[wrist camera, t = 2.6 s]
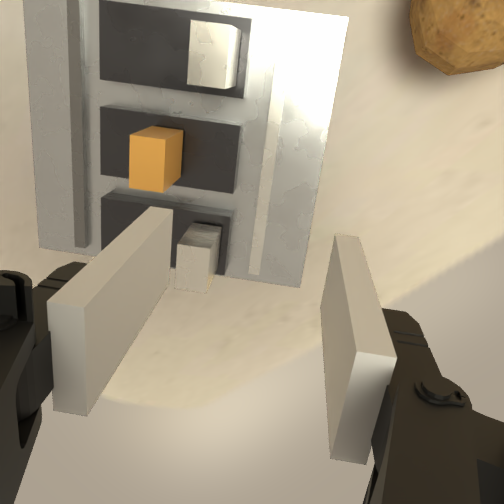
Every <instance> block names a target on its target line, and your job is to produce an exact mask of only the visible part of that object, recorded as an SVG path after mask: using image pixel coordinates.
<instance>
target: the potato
mask: <svg viewBox="0 0 504 504" xmlns="http://www.w3.org/2000/svg"><path fill="white" fill-rule="evenodd" d="M409 19H410V25H411V30H412V36H413V41H414V47H415V52H416V54H417V55H418V56H420V57H421V58H423V59H424V60H426V61H427V62H429V63H430V64H432V65H433V66H435V67H436V68H438V69H439V70H440V71H442V72H443V73H445V74H446V75H454V74H461V73H468V72H475V71H481V70H488V69H494V68H496V67H498V66H500V65H502V64H504V0H411V6H410V13H409Z"/></svg>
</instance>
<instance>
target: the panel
mask: <svg viewBox="0 0 504 504" xmlns="http://www.w3.org/2000/svg"><path fill="white" fill-rule="evenodd" d="M23 7H24V22H25V37H26V53H27V68H28V83H29V98H30V114H31V129H32V144H33V159H34V175H35V190H36V205H37V220H38V236H39V248H45V249H51V250H58V251H64V252H71V253H77V254H84V255H90V256H97V255H98V254H99V253H100V252H101V251H102V250H103V249H104V248H105V247H107V246H108V245H109V244H110V243H111V242H112V241H113V240H114V239H115V238H116V237H117V236H119V235H120V234H121V233H122V232H123V231H124V230H125V229H126V228H127V227H128V226H129V225H131V224H132V223H133V222H134V221H135V220H136V219H137V218H138V217H139V216H140V215H141V214H143V213H144V212H145V211H146V210H147V209H148V208H149V207H150V206H152V207H159V208H166V209H173V222H172V240H171V258H170V268H174V269H176V274H175V289H180V290H187V291H193V292H199V293H207V291H208V289H209V286H210V284H211V282H212V279H213V277H214V275H219V276H226V277H232V278H238V279H245V280H251V281H258V282H264V283H271V284H277V285H284V286H290V287H296V288H300V284H301V279H302V273H303V268H304V262H305V256H306V251H307V245H308V240H309V234H310V229H311V223H312V218H313V212H314V206H315V201H316V195H317V190H318V184H319V179H320V173H321V167H322V162H323V156H324V151H325V145H326V140H327V134H328V128H329V123H330V117H331V112H332V106H333V101H334V95H335V89H336V84H337V78H338V73H339V67H340V62H341V56H342V50H343V45H344V39H345V34H346V28H347V23H348V17H342V16H334V15H326V14H317V13H309V12H301V11H293V10H285V9H277V8H269V7H261V6H253V5H245V4H237V3H229V2H220V1H212V0H23ZM151 126H157V127H164V128H171V129H178V130H183V144H182V161H181V177H180V178H179V179H178V180H177V181H176V182H175V183H174V184H172V185H171V186H170V187H169V188H168V189H167V190H166V191H165V192H164V193H160V192H154V191H147V190H140V189H133V188H129V154H130V135H131V134H133V133H136V132H138V131H141V130H143V129H146V128H148V127H151Z"/></svg>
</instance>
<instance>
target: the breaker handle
mask: <svg viewBox="0 0 504 504" xmlns="http://www.w3.org/2000/svg"><path fill="white" fill-rule="evenodd" d="M182 144H183V130H178V129H171V128H164V127H157V126H151V127H148V128H146V129H143V130H141V131H138V132H136V133H133V134H131V135H130V154H129V188H133V189H140V190H147V191H154V192H160V193H164V192H165V191H166V190H167V189H168V188H169V187H170V186H171V185H172V184H174V183H175V182H176V181H177V180H178V179H179V178H180V177H181V161H182Z"/></svg>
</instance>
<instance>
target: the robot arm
mask: <svg viewBox="0 0 504 504" xmlns="http://www.w3.org/2000/svg"><path fill="white" fill-rule="evenodd" d="M172 222H173V209H166V208H159V207H152V206H150V207H149V208H148V209H147V210H146V211H145V212H144V213H143V214H141V215H140V216H139V217H138V218H137V219H136V220H135V221H134V222H133V223H132V224H131V225H129V226H128V227H127V228H126V229H125V230H124V231H123V232H122V233H121V234H120V235H119V236H117V237H116V238H115V239H114V240H113V241H112V242H111V243H110V244H109V245H108V246H107V247H105V248H104V249H103V250H102V251H101V252H100V253H99V254H98V255H97V256H96V257H95V258H93V259H92V260H91V261H90V262H89V263H88V264H86V263H80V262H72V263H70V264H67V265H65V266H62V267H60V268H57V269H56V270H55V271H54V272H53V273H51V274H50V275H49V276H48V277H47V279H44V280H43V281H42V282H40V283H39V284H38V286H37V287H34V288H33V289H32V280H31V279H30V278H29V277H28V276H27V275H25V274H23V273H20V272H16V271H8V270H0V504H14V501H15V498H16V495H17V493H18V490H19V487H20V484H21V481H22V478H23V475H24V472H25V469H26V466H27V463H28V460H29V457H30V455H31V452H32V449H33V446H34V443H35V440H36V437H37V434H38V431H39V428H40V425H41V421H42V411H41V404H42V402H43V401H44V400H45V398H46V397H47V396H48V395H49V393H50V392H51V391H52V394H53V395H52V396H53V410H54V411H59V412H64V413H70V414H76V415H81V416H88V414H89V413H90V411H91V409H92V408H93V406H94V404H95V403H96V401H97V400H98V398H99V396H100V395H101V393H102V392H103V390H104V388H105V387H106V385H107V383H108V382H109V380H110V379H111V377H112V375H113V374H114V372H115V370H116V369H117V367H118V366H119V364H120V362H121V361H122V359H123V358H124V356H125V354H126V353H127V351H128V349H129V348H130V346H131V345H132V343H133V341H134V340H135V338H136V337H137V335H138V333H139V332H140V330H141V328H142V327H143V325H144V324H145V322H146V320H147V319H148V317H149V316H150V314H151V312H152V311H153V309H154V307H155V306H156V304H157V303H158V301H159V299H160V298H161V296H162V295H163V293H164V291H165V290H166V288H167V286H168V285H169V276H170V258H171V240H172ZM320 311H321V327H322V342H323V357H324V373H325V386H326V403H327V418H328V433H329V449H330V459H335V460H341V461H347V462H352V463H358V464H364V465H366V463H367V460H368V456H369V453H370V449H371V446H372V449H373V455H374V460H375V464H374V468H373V471H372V475H371V478H370V481H369V484H368V488H367V491H366V494H365V498H364V501H363V504H504V422H501V421H498V420H495V419H493V418H490V417H487V416H485V415H483V414H480V413H478V412H476V411H474V410H472V404H471V402H470V399H469V397H468V395H467V394H466V393H465V392H464V391H463V390H462V389H461V388H460V387H459V386H458V385H456V384H455V383H453V382H452V381H450V380H449V379H447V378H444V377H442V375H441V373H440V371H439V368H438V366H437V364H436V362H435V359H434V357H433V355H432V353H431V350H430V348H428V343H427V341H426V339H425V338H424V335H423V332H422V330H421V328H420V325H419V323H418V322H417V321H415V320H414V319H413V318H412V317H411V316H410V315H409V314H408V313H407V312H403V311H397V310H391V309H384V308H381V305H380V302H379V299H378V296H377V293H376V290H375V286H374V283H373V280H372V277H371V274H370V271H369V267H368V264H367V261H366V258H365V255H364V252H363V248H362V245H361V242H360V239H359V237H355V236H348V235H341V234H335V237H334V242H333V247H332V252H331V257H330V262H329V267H328V272H327V277H326V282H325V287H324V292H323V296H322V301H321V306H320Z"/></svg>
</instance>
